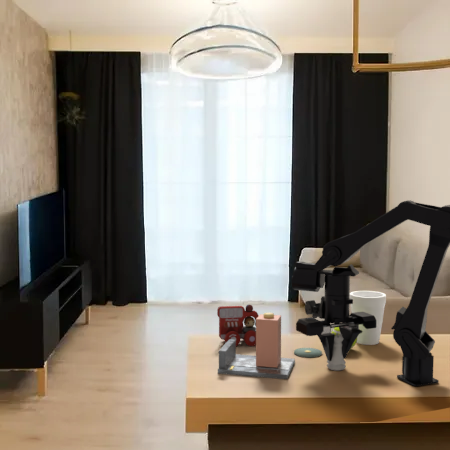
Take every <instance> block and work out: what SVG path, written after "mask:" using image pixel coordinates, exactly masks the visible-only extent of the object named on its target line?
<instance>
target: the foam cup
mask: <svg viewBox="0 0 450 450" xmlns="http://www.w3.org/2000/svg"><path fill="white" fill-rule="evenodd" d="M350 299H353V304H350V311H351V313H355V312H365V313H368V314H371V315H374V316H375V318H376V320H377V327H376V328H371V329H366V328H365V327H364V326H363V324H360V325H359V329H360V330H362V333H360V334H359V335H358V337H357V342H356V344H358V345H365V346H374V345H378V344H379V343H380V340H381V332H382V328H383V327H382V326H383V320H384V312H385V307H386V306H385V305H386V304H387V294H386V293H384V292H381V291H377V290H376V291H374V290H356V291H354V290H353V291H351V292H350Z"/></svg>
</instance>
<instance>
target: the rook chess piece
mask: <svg viewBox="0 0 450 450" xmlns="http://www.w3.org/2000/svg"><path fill="white" fill-rule="evenodd" d="M331 333H332V332H331ZM332 334H334V335H335V333H332ZM342 341H343V337H342V335H341V334H339V335H338V333H336V335H335V336H334V345H333V355H332V359H331V361H329V360H327V359H326V363H327V364H326V368H327V369H328V370H329V371H336V372H338V371H343V370H345V369H346V368H347V365H346V359H344V358H343V355H342Z"/></svg>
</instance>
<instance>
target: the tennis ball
mask: <svg viewBox="0 0 450 450" xmlns="http://www.w3.org/2000/svg"><path fill="white" fill-rule="evenodd" d="M331 333H335V335H336V333H338V335H339V334H341V332H340V329H339V327H335V328H332V329H331ZM356 342H357V338H356V340H355V341H354V343H353V345H352V346H351V348H350V350H352V349H353V348H355V345H356V344H357V343H356Z"/></svg>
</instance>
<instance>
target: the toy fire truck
mask: <svg viewBox="0 0 450 450" xmlns="http://www.w3.org/2000/svg"><path fill="white" fill-rule="evenodd" d="M216 311H217V313H216V314H217V318H218V337H219V339H221V340H223V341H224V344H225V343H226V342H227V341H228V340H229V339H234V340H236V347H238V346H239V345H240V343H241V340H243V342H244V343H245V345H247V346H248V347H256V319H257V317H258V316H259V315H260V314H259V313H258V312H257V310H254V306H253V305H252V304H247V305H246V306H245V307H244V306H242V305H229V306H227V305H226V306H223V305H222V306H218V307H217V310H216Z"/></svg>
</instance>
